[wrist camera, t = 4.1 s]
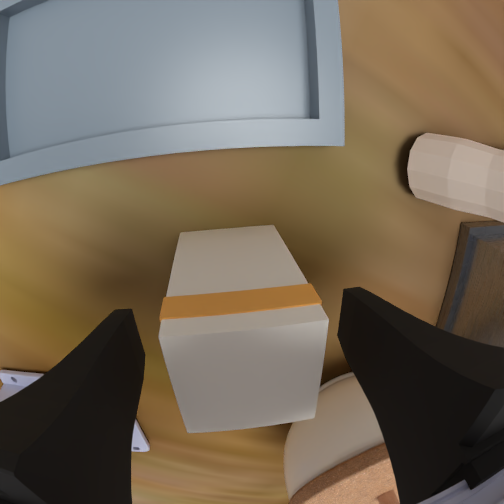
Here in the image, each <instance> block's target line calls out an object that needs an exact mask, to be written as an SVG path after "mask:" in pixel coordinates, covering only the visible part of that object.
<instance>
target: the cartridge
mask: <svg viewBox="0 0 504 504" xmlns="http://www.w3.org/2000/svg"><path fill="white" fill-rule="evenodd" d="M159 319H160V323H161V326H160V331H159V341H160V345H161V348H162V352H163V356H164V359H165V363H166V366H167V370H168V373H169V377H170V380H171V383H172V387H173V390H174V393H175V396H176V400H177V403H178V406H179V409H180V412H181V415H182V418H183V421H184V424H185V427H186V429H187V432H188V433H199V432H215V431H227V430H238V429H247V428H256V427H263V426H271V425H278V424H284V423H290V422H296V421H302V420H307V419H312V418H315V412H316V406H317V400H318V394H319V388H320V382H321V375H322V368H323V362H324V354H325V347H326V339H327V331H328V323H329V319H328V317H327V315H326V313H325V312H324V310H323V308H322V301H321V299H320V298H319V296H318V294H317V293H316V291H315V289H314V288H313V286H312V284H311V283H309V284H308V282H307V280H306V279H305V277H304V275H303V274H302V272H301V270H300V268H299V267H298V265H297V263H296V262H295V260H294V258H293V257H292V255H291V253H290V252H289V250H288V248H287V246H286V245H285V243H284V241H283V240H282V238H281V236H280V235H279V233H278V231H277V230H276V228H275V226H274V225H264V226H251V227H238V228H226V229H214V230H203V231H192V232H181V233H180V236H179V240H178V244H177V248H176V253H175V257H174V262H173V266H172V271H171V275H170V280H169V285H168V290H167V295H166V297H164V298H163V303H162V307H161V312H160V317H159Z"/></svg>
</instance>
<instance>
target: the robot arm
mask: <svg viewBox="0 0 504 504" xmlns="http://www.w3.org/2000/svg"><path fill="white" fill-rule="evenodd" d="M337 336H338V338H339V341H340V344H341V347H342V350H343V352H344V355H345V358H346V360H347V362H348V364H349V365H350V367H351V369H352V371H353V373H354V375H355V377H356V379H357V380H358V382H359V384H360V386H361V388H362V390H363V392H364V394H365V395H366V397H367V399H368V401H369V403H370V405H371V407H372V409H373V411H374V414H375V416H376V419H377V421H378V424H379V427H380V430H381V432H382V435H383V438H384V441H385V445H386V448H387V451H388V454H389V457H390V461H391V465H392V469H393V473H394V476H395V481H396V486H397V491H398V496H399V501H400V504H504V348H503V347H498V346H493V345H489V344H484V343H480V342H477V341H474V340H470V339H467V338H464V337H461V336H458V335H455V334H452V333H450V332H447V331H445V330H442V329H440V328H437V327H435V326H433V325H431V324H429V323H427V322H424V321H422V320H420V319H418V318H416V317H414V316H413V315H411V314H409V313H407V312H405V311H403V310H401V309H400V308H398V307H396V306H394V305H392V304H391V303H389V302H387V301H385V300H384V299H382V298H380V297H378V296H376V295H375V294H373V293H371V292H369V291H367V290H365V289H363V288H361V287H354V288H347V289H343V298H342V306H341V313H340V321H339V328H338V334H337ZM144 366H145V352H144V349H143V346H142V342H141V339H140V336H139V332H138V329H137V326H136V322H135V318H134V315H133V311H132V309H118V310H114V311H113V312H112V313H111V314H110V315H109V316H108V317H107V318H106V319H105V320H104V321H102V322H101V323H100V324H99V325H98V326H97V327H96V328H95V329H94V330H93V331H92V332H91V333H90V334H89V335H88V336H87V337H86V338H85V339H84V340H83V341H82V342H81V343H80V344H79V345H78V346H77V347H76V348H75V349H74V350H73V351H71V352H70V353H69V354H68V355H67V356H66V357H65V358H64V359H63V360H62V361H60V362H59V363H58V364H57V365H56V366H54V367H53V368H52V369H51V370H49V371H48V372H47V373H45V374H40V373H29V372H19V371H10V370H1V371H0V379H1V380H2V382H3V386H2V388H1V390H0V504H132V494H131V451H138V452H147V451H149V450H150V445H149V443H148V441H147V439H146V438H145V436H144V434H143V432H142V430H141V428H140V426H139V424H138V422H137V420H136V414H137V409H138V404H139V399H140V394H141V389H142V384H143V379H144Z"/></svg>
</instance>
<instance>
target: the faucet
mask: <svg viewBox="0 0 504 504" xmlns="http://www.w3.org/2000/svg"><path fill="white" fill-rule="evenodd" d="M407 172H408V180H409V187H410V189H411V190H412V192H413V194H414V195H415V197H416V198H419V199H422V200H426V201H429V202H432V203H435V204H438V205H442V206H445V207H448V208H451V209H454V210H458V211H462V212H467V213H472V214H476V215H480V216H485V217H489V218H492V219H495V220H498V221H501V222H503V223H504V150H500V149H496V148H493V147H490V146H487V145H484V144H481V143H478V142H475V141H472V140H468V139H465V138H459V137H452V136H446V135H439V134H432V133H425V134H423V135H421V136H419V137H417V139H416V141H415V143H414V145H413V146H412V148H411V150H410V155H409V161H408V167H407Z"/></svg>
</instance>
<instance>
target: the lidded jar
mask: <svg viewBox="0 0 504 504" xmlns="http://www.w3.org/2000/svg"><path fill="white" fill-rule="evenodd" d="M283 465H284V478H285V483H286V489H287V493H288V497H289V504H400V503H399V502H400V501H399V496H398V491H397V486H396V481H395V476H394V473H393V469H392V465H391V461H390V457H389V454H388V451H387V448H386V445H385V441H384V438H383V435H382V432H381V430H380V427H379V424H378V421H377V419H376V416H375V414H374V411H373V409H372V407H371V405H370V403H369V401H368V399H367V397H366V395H365V394H364V392H363V390H362V388H361V386H360V384H359V382H358V380H357V379H356V377H355V375H354V373H353V372H350V373H346V374H343V375H340V376H338V377H336V378H334V379H332V380H330V381H328V382H326V383H325V384H323V385H321V386H320V388H319V394H318V400H317V406H316V412H315V418H312V419H307V420H302V421H296V422H293V423H292V425H291V428H290V430H289V432H288V435H287V438H286V443H285V448H284V463H283Z"/></svg>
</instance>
